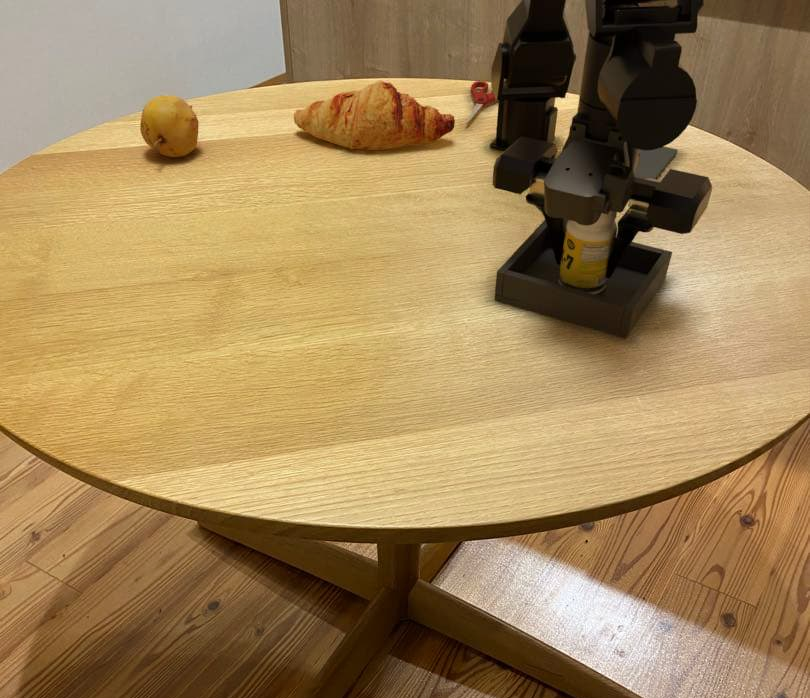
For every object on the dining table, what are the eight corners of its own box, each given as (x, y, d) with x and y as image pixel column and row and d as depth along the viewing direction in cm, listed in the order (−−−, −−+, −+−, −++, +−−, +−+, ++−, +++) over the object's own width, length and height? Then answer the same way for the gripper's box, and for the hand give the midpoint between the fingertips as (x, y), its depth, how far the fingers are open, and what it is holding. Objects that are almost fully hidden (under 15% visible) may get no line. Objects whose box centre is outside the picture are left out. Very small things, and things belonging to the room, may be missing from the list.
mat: (572, 167, 97) (572, 163, 96) (601, 137, 103) (602, 133, 102) (651, 185, 94) (652, 181, 93) (677, 153, 99) (677, 149, 99)
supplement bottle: (554, 272, 80) (566, 190, 74) (601, 271, 80) (616, 189, 74) (561, 298, 77) (574, 215, 71) (609, 297, 77) (627, 214, 71)
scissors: (511, 91, 113) (511, 83, 112) (486, 129, 104) (486, 121, 103) (474, 86, 114) (474, 79, 113) (446, 124, 105) (446, 116, 105)
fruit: (176, 125, 93) (213, 91, 99) (121, 103, 93) (161, 71, 99) (176, 179, 98) (211, 144, 104) (124, 159, 98) (163, 125, 104)
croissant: (293, 168, 105) (277, 124, 97) (305, 104, 107) (290, 55, 100) (451, 175, 102) (448, 129, 95) (460, 108, 105) (458, 59, 97)
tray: (494, 299, 78) (496, 271, 76) (541, 247, 85) (544, 219, 82) (626, 339, 74) (633, 310, 71) (665, 280, 80) (672, 251, 78)
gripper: (469, 111, 64) (461, 283, 76) (697, 159, 58) (649, 339, 70) (526, 66, 71) (510, 232, 82) (737, 106, 64) (687, 279, 76)
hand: (584, 269), depth 77 cm, fingers closed on supplement bottle, 5 cm apart
